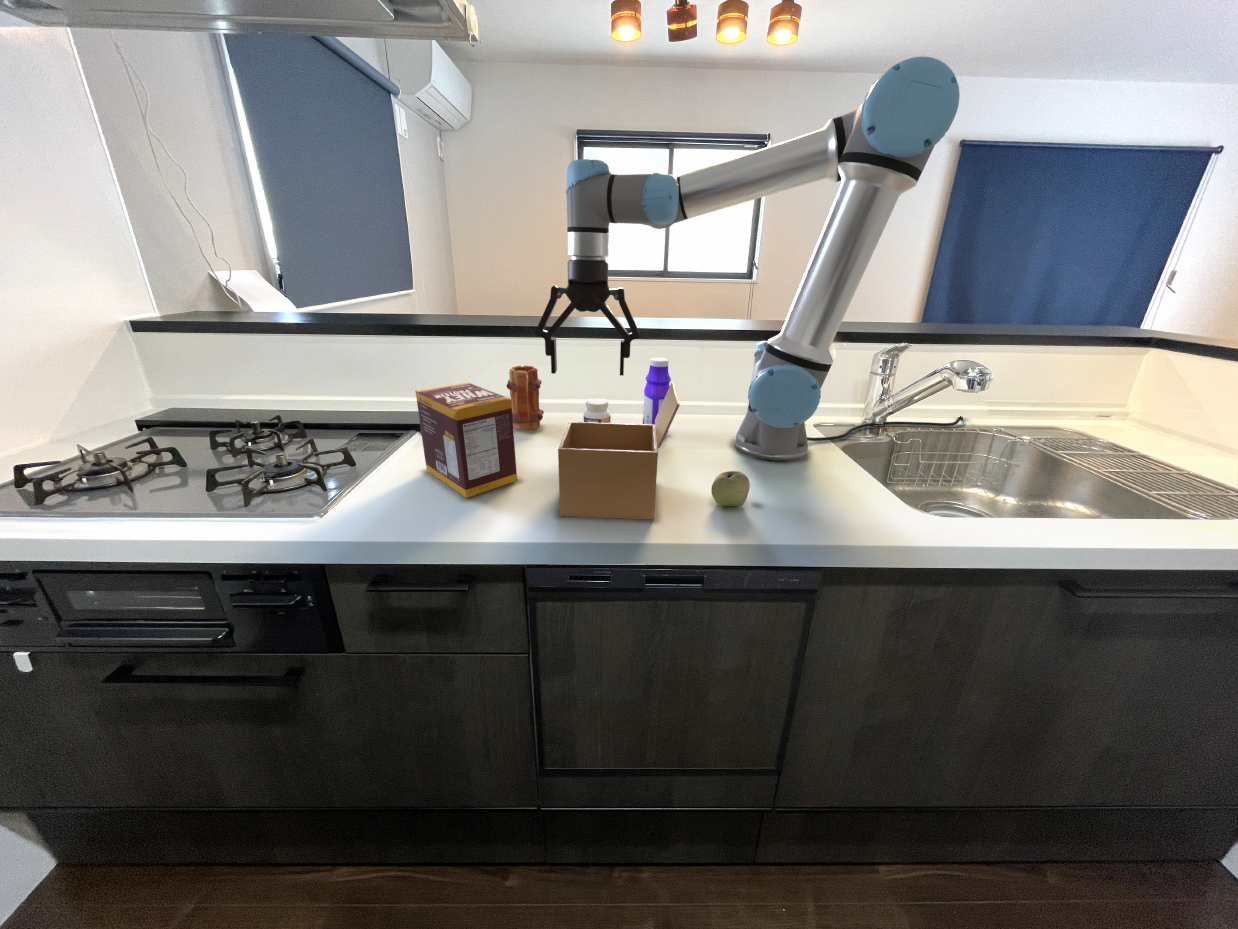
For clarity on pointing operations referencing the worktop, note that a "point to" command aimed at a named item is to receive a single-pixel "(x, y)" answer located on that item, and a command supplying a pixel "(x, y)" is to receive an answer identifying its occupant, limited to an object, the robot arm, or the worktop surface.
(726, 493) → the apple
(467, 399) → the supplement box
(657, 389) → the bottle
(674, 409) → the flap
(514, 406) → the mug
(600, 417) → the pill bottle
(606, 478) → the carton
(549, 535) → the worktop surface
